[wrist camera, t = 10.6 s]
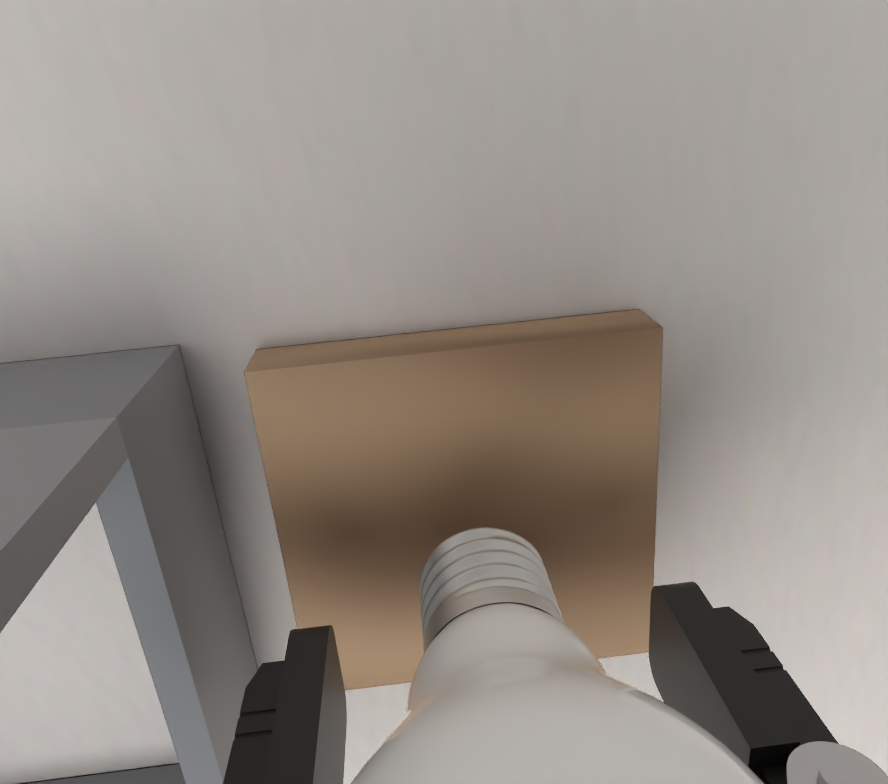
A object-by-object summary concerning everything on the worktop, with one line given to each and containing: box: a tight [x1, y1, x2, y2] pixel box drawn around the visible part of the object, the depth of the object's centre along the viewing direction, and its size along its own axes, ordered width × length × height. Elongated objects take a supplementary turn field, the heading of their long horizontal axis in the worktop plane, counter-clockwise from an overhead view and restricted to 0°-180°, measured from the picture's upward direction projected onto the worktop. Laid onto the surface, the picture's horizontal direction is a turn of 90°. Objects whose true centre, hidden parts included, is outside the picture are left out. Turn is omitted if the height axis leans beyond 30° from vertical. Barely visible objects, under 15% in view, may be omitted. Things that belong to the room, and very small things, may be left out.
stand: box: [244, 309, 663, 690], centre depth 17 cm, size 9×9×2 cm
